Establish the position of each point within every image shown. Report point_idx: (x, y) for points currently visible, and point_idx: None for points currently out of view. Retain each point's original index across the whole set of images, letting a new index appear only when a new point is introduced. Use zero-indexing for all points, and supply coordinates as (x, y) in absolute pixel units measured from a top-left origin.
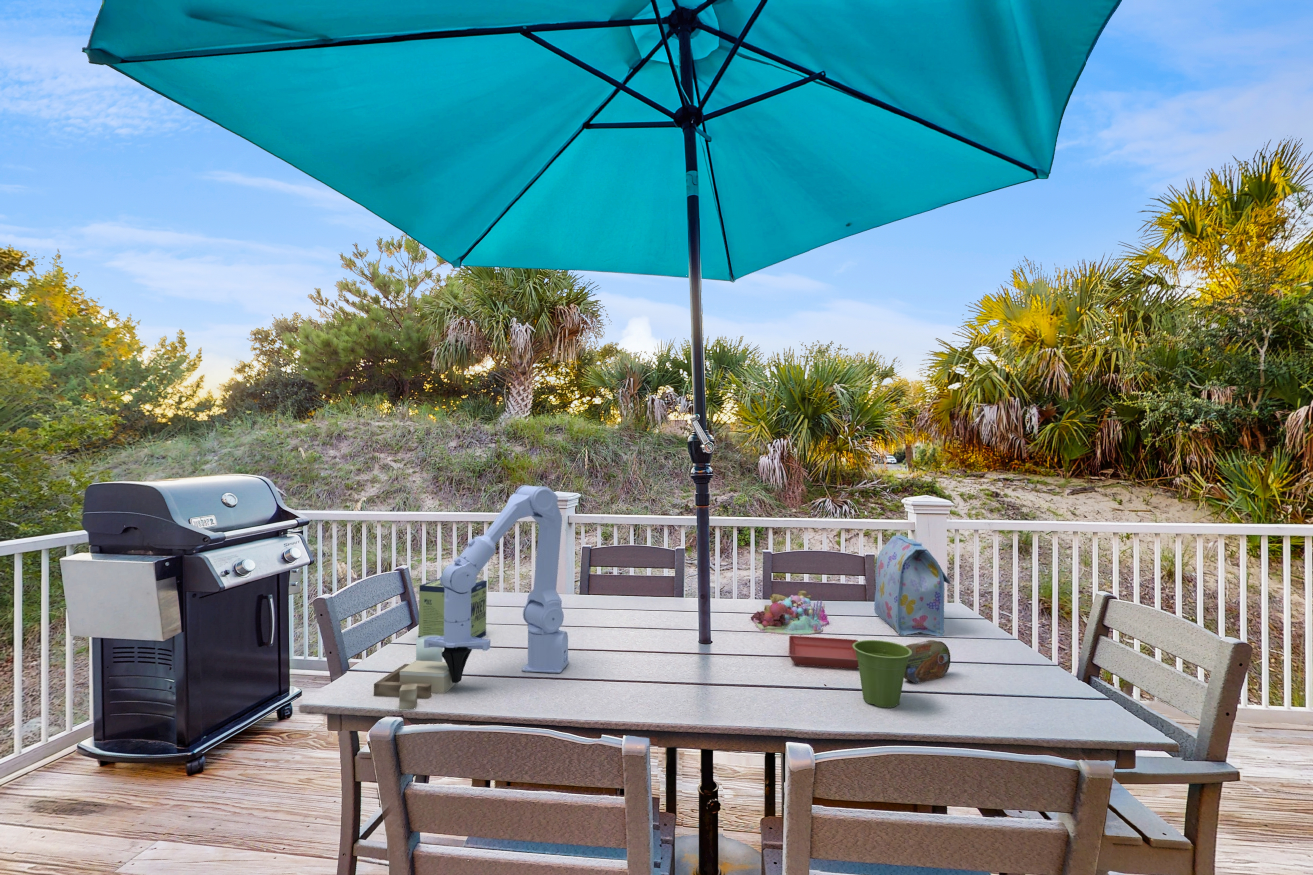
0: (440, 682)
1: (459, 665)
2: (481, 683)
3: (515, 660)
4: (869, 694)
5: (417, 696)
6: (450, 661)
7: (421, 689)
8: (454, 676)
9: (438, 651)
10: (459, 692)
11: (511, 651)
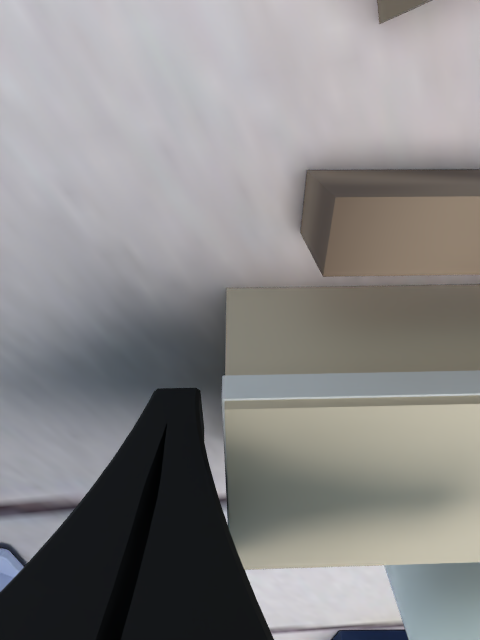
0: (257, 337)
1: (60, 531)
2: (88, 442)
3: None
4: None
5: (411, 173)
6: (164, 583)
7: (403, 187)
8: (164, 421)
9: (423, 629)
10: (124, 321)
11: None
